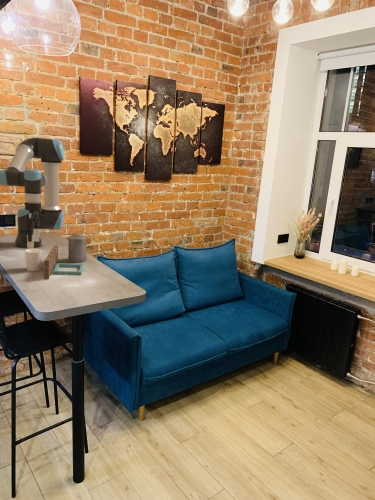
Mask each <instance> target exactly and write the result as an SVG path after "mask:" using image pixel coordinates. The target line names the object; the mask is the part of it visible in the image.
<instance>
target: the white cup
mask: <svg viewBox="0 0 375 500" xmlns="http://www.w3.org/2000/svg"><path fill="white" fill-rule="evenodd" d="M24 253H25V264H26V270H27V271H29V272H39V271H40V270H42V264H43V263H42V262H43V261H42V259H43V250H42V249H41V248H37V247H34V248H26V249H25V251H24Z"/></svg>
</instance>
